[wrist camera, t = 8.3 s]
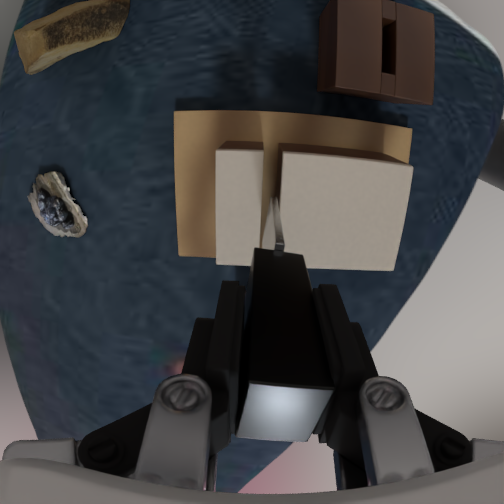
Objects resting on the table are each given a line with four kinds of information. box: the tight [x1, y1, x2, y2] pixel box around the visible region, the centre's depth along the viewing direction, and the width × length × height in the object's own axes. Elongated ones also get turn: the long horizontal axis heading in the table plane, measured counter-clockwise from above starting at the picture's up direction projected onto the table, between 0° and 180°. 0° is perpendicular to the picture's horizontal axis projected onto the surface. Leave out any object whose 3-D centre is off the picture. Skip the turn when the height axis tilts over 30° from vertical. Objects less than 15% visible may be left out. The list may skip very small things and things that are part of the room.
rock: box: [14, 0, 130, 75], centre depth 18 cm, size 11×9×10 cm
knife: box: [235, 196, 335, 442], centre depth 13 cm, size 2×3×14 cm, turn 171°
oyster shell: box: [28, 171, 88, 238], centre depth 28 cm, size 7×8×2 cm
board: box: [174, 110, 412, 257], centre depth 27 cm, size 20×13×1 cm, turn 88°
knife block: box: [317, 0, 435, 105], centre depth 19 cm, size 7×7×7 cm
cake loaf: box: [276, 143, 413, 271], centre depth 24 cm, size 9×8×6 cm
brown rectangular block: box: [215, 141, 264, 266], centre depth 24 cm, size 3×8×6 cm, turn 178°
